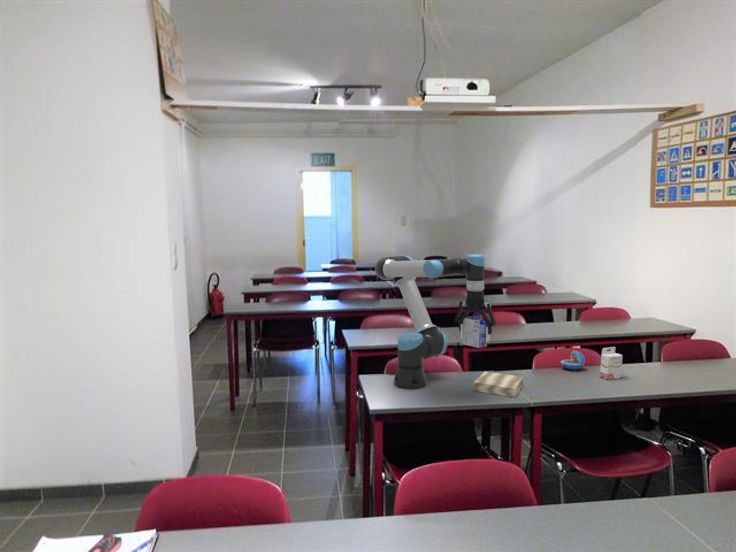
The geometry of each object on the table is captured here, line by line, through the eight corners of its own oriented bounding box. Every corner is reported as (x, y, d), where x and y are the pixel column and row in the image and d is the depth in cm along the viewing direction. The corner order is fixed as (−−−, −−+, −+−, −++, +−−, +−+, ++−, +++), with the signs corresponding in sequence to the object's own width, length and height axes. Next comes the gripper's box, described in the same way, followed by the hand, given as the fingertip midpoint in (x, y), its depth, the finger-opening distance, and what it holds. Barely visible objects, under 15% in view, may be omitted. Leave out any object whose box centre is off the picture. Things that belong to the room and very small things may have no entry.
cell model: (556, 366, 255) (557, 349, 254) (578, 366, 256) (578, 348, 255) (566, 372, 245) (566, 354, 244) (588, 371, 247) (589, 353, 246)
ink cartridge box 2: (607, 380, 233) (609, 350, 232) (599, 377, 238) (601, 347, 236) (621, 378, 236) (623, 348, 234) (613, 375, 241) (615, 346, 239)
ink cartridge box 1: (488, 346, 212) (488, 313, 210) (479, 348, 209) (479, 315, 207) (470, 342, 220) (471, 310, 218) (462, 344, 217) (462, 312, 215)
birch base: (473, 390, 220) (473, 382, 220) (484, 379, 236) (484, 371, 235) (514, 397, 211) (514, 388, 211) (523, 385, 227) (523, 377, 227)
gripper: (446, 289, 215) (446, 338, 217) (499, 292, 203) (498, 344, 205) (453, 287, 221) (453, 335, 223) (504, 290, 209) (503, 341, 211)
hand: (475, 339), depth 214 cm, fingers closed on ink cartridge box 1, 11 cm apart
